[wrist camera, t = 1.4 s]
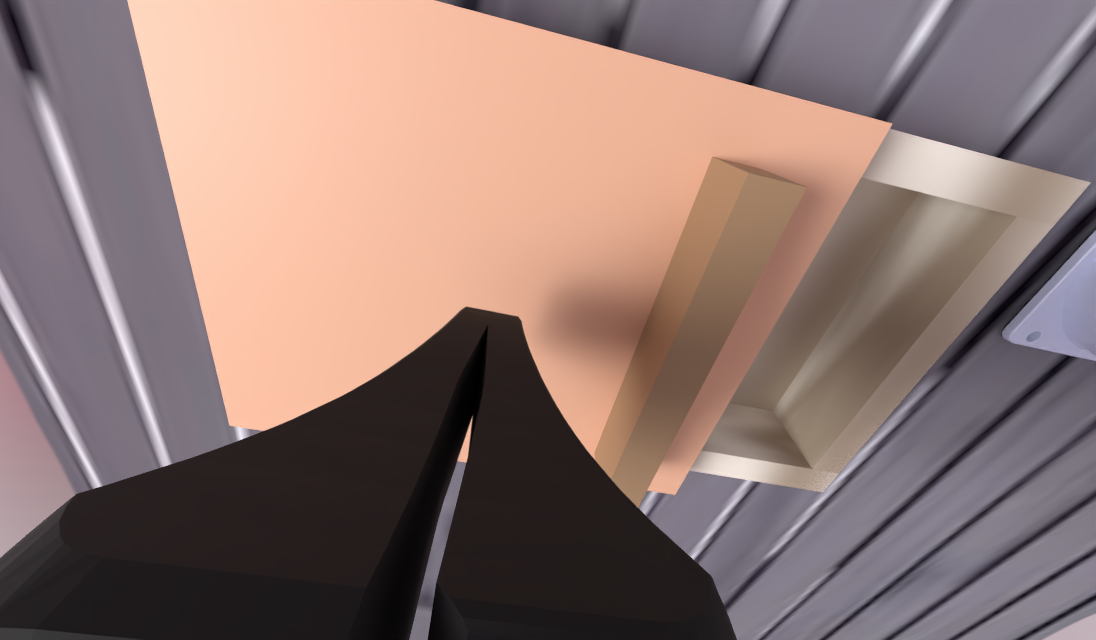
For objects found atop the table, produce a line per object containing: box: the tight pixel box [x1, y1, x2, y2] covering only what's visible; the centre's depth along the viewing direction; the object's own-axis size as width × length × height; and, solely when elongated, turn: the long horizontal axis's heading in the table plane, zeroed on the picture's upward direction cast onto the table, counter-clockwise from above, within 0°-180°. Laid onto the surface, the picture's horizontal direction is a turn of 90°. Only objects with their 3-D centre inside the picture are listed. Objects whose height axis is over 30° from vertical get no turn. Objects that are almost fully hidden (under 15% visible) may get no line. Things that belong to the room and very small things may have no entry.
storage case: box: [689, 129, 1090, 492], centre depth 15 cm, size 16×13×4 cm
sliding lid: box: [128, 0, 892, 507], centre depth 11 cm, size 16×13×3 cm
